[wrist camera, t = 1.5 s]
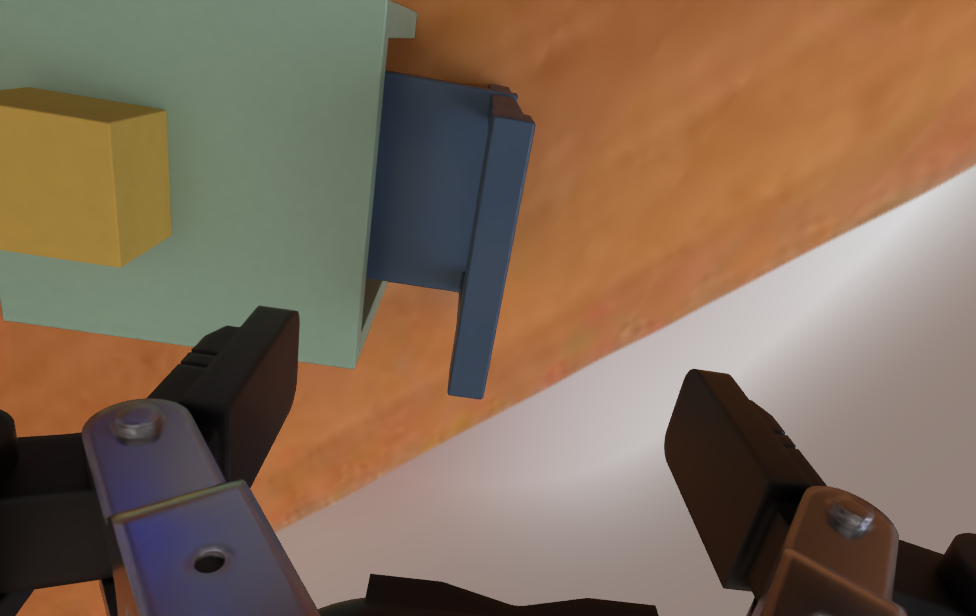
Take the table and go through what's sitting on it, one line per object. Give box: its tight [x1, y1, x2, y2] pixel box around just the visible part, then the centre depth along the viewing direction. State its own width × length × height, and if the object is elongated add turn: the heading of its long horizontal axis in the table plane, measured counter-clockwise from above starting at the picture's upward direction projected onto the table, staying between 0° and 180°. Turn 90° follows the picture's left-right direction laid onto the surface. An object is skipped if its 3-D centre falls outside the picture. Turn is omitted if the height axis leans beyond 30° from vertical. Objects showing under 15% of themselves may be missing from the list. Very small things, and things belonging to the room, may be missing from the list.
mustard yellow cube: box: [0, 87, 172, 268], centre depth 20 cm, size 5×5×4 cm
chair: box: [366, 70, 535, 399], centre depth 25 cm, size 10×9×15 cm
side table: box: [0, 0, 417, 369], centre depth 27 cm, size 14×14×10 cm
